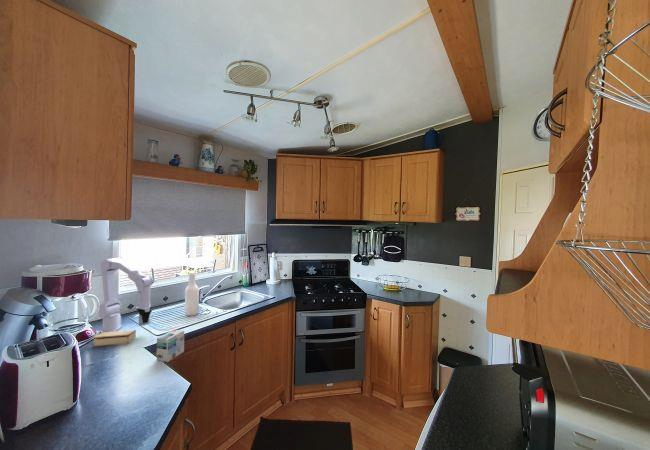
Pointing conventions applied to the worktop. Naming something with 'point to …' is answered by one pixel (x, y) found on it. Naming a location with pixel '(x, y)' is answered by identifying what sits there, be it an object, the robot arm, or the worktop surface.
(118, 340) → the box
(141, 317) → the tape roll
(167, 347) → the light bulb box
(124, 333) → the lid
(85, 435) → the worktop surface
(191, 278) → the alcohol
